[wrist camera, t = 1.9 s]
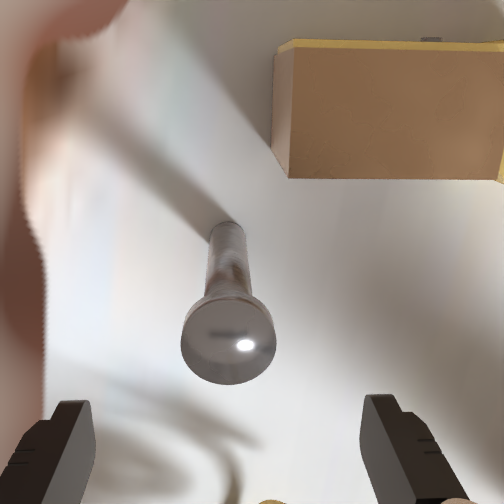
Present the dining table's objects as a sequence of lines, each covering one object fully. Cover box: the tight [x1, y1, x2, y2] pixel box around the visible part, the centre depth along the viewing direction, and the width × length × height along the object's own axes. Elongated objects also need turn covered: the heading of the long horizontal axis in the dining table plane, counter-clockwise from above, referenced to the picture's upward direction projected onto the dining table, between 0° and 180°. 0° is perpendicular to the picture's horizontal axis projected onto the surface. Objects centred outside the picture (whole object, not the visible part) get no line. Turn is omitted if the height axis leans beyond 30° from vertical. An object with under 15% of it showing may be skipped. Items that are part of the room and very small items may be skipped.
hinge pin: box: [181, 222, 276, 385], centre depth 23 cm, size 4×4×12 cm
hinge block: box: [271, 38, 504, 184], centre depth 22 cm, size 22×7×8 cm, turn 89°
